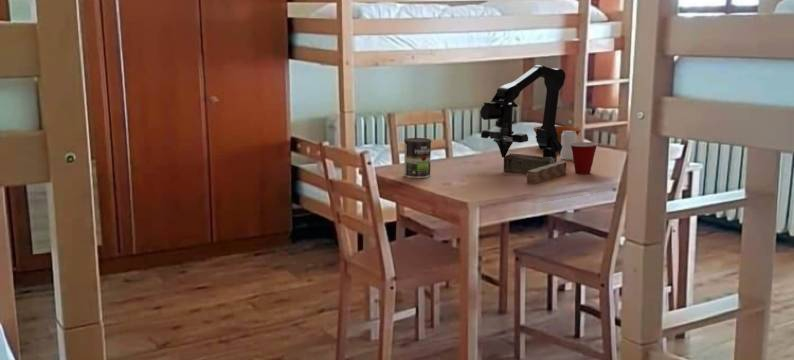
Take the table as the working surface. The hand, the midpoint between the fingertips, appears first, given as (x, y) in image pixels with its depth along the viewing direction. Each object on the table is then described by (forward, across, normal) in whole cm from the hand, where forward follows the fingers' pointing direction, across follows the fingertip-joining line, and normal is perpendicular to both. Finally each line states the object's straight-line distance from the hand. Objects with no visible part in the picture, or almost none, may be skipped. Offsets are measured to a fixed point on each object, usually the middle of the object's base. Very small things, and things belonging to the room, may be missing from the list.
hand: (503, 157), depth 326 cm
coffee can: (+6, -20, -31) cm, 37 cm away
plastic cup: (+5, +27, +15) cm, 31 cm away
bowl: (+5, -6, +57) cm, 58 cm away
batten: (+5, +21, -3) cm, 22 cm away
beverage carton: (+5, +10, +4) cm, 12 cm away
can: (+5, +9, +39) cm, 41 cm away
